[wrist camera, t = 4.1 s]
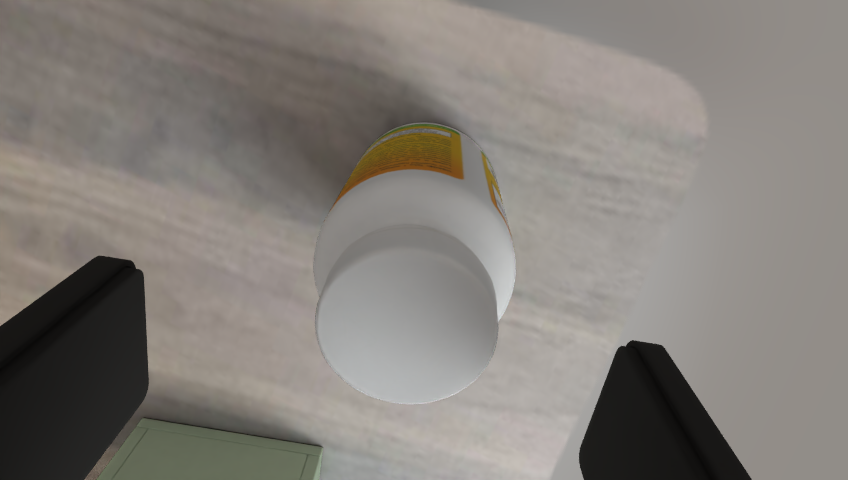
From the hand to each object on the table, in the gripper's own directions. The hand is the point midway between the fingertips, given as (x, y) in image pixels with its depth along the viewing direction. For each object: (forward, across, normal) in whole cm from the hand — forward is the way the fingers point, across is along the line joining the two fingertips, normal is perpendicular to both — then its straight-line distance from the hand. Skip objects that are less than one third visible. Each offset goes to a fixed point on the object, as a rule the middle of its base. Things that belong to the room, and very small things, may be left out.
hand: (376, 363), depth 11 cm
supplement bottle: (+11, -1, 0) cm, 11 cm away
